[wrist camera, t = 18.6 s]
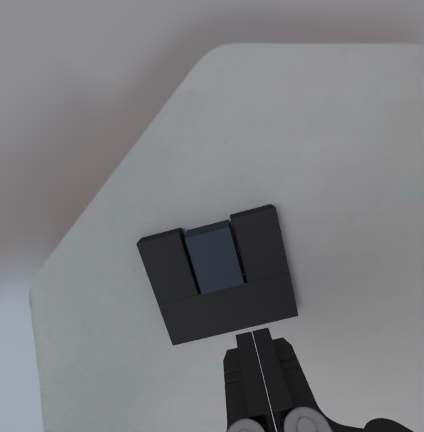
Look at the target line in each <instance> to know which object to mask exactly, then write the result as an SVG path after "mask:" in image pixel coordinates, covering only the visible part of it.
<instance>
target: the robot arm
mask: <svg viewBox="0 0 424 432" xmlns="http://www.w3.org/2000/svg"><path fill="white" fill-rule="evenodd" d="M253 335H254V339H255V343H256V347H257V351H258V355H259V360H260V364H261V368H262V372H263V376H264V380H265V384H266V388H267V392H268V396H269V401H270V405H271V409H272V413H273V417H274V421H275V424H276V428H277V432H413V431H411V430H409V429H408V428H406V427H404V426H403V425H401V424H399V423H397V422H395V421H392V420H389V419H384V418H377V419H373V420H371V421H369V422H368V423H367V424H366V426H365V427H364V429H362V428H356V427H349V426H344V425H341V424H338V423H336V422H334V421H332V420H331V419H329V418H328V417H327V416H325V415H324V414H323V412H322V411H321V410H320V409H319V407H318V405H317V403H316V401H315V399H314V396H313V394H312V392H311V389H310V387H309V385H308V382H307V380H306V378H305V375H304V373H303V371H302V368H301V367H300V364H299V361H298V359H297V357H296V354H295V352H294V350H293V347H292V345H291V344H289V343H288V342H287V341H286V340H285V339H284V338H279V339H275V340H272V338H271V335H270V332H269V329H268V328H264V329H260V330H256V331H253ZM236 340H237V347H238V348H235V349H230V350H227V352H226V355H225V358H224V360H223V364H224V379H225V393H226V408H227V431H226V432H276V430H275V426H274V422H273V418H272V414H271V409H270V405H269V401H268V397H267V393H266V389H265V384H264V380H263V376H262V372H261V368H260V364H259V360H258V356H257V352H256V348H255V344H254V340H253V336H252V333H251V332H247V333H243V334H238V335H236Z"/></svg>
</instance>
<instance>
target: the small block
mask: <svg viewBox="0 0 424 432" xmlns="http://www.w3.org/2000/svg"><path fill="white" fill-rule="evenodd" d="M185 241H186V245H187V248H188V251H189V254H190V258H191V261H192V264H193V267H194V271H195V274H196V277H197V280H198V284H199V287H200V290H201V293H202V294H206V293H210V292H214V291H218V290H222V289H226V288H230V287H234V286H239V285H243V284H244V281H243V277H242V273H241V269H240V265H239V261H238V258H237V254H236V250H235V246H234V242H233V238H232V234H231V231H230V227H229V223H228V220H225V221H222V222H218V223H214V224H210V225H206V226H202V227H198V228H195V229H191V230H187V233H186V236H185Z"/></svg>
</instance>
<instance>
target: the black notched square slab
mask: <svg viewBox="0 0 424 432" xmlns="http://www.w3.org/2000/svg"><path fill="white" fill-rule="evenodd" d="M230 218H231V222H232V226H233V230H234V234H235V237H236V241H237V245H238V249H239V253H240V257H241V261H242V265H243V269H244V272H245V275H243V276H242V277H243V281H244V284H243V285H239V286H234V287H230V288H226V289H222V290H218V291H214V292H210V293H206V294H202V293H201V290H200V287H199V285H198V282H197V279H196V275H195V272H194V269H193V266H192V262H191V259H190V256H189V253H188V249H187V246H186V243H185V240H184V237H183V233H182V230H181V228H178V229H174V230H170V231H166V232H163V233H159V234H155V235H151V236H147V237H144V238H141V239H140V240H139V241H138V243H137V247H138V249H139V252H140V255H141V258H142V261H143V263H144V266H145V269H146V272H147V275H148V277H149V280H150V283H151V286H152V288H153V291H154V294H155V297H156V300H157V302H158V305H159V308H160V311H161V314H162V316H163V319H164V322H165V325H166V328H167V330H168V333H169V336H170V339H171V341H172V344H173V345H177V344H181V343H186V342H190V341H194V340H198V339H202V338H207V337H211V336H215V335H219V334H223V333H228V332H232V331H236V330H240V329H245V328H249V327H253V326H257V325H261V324H266V323H270V322H274V321H278V320H282V319H287V318H291V317H295V316H298V312H297V307H296V303H295V298H294V293H293V288H292V284H291V279H290V274H289V269H288V265H287V260H286V255H285V250H284V246H283V241H282V236H281V231H280V227H279V222H278V217H277V212H276V208H275V207H274V206H273V205H271V204H270V205H266V206H262V207H258V208H254V209H251V210H247V211H243V212H239V213H235V214H232V215H230Z"/></svg>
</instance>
